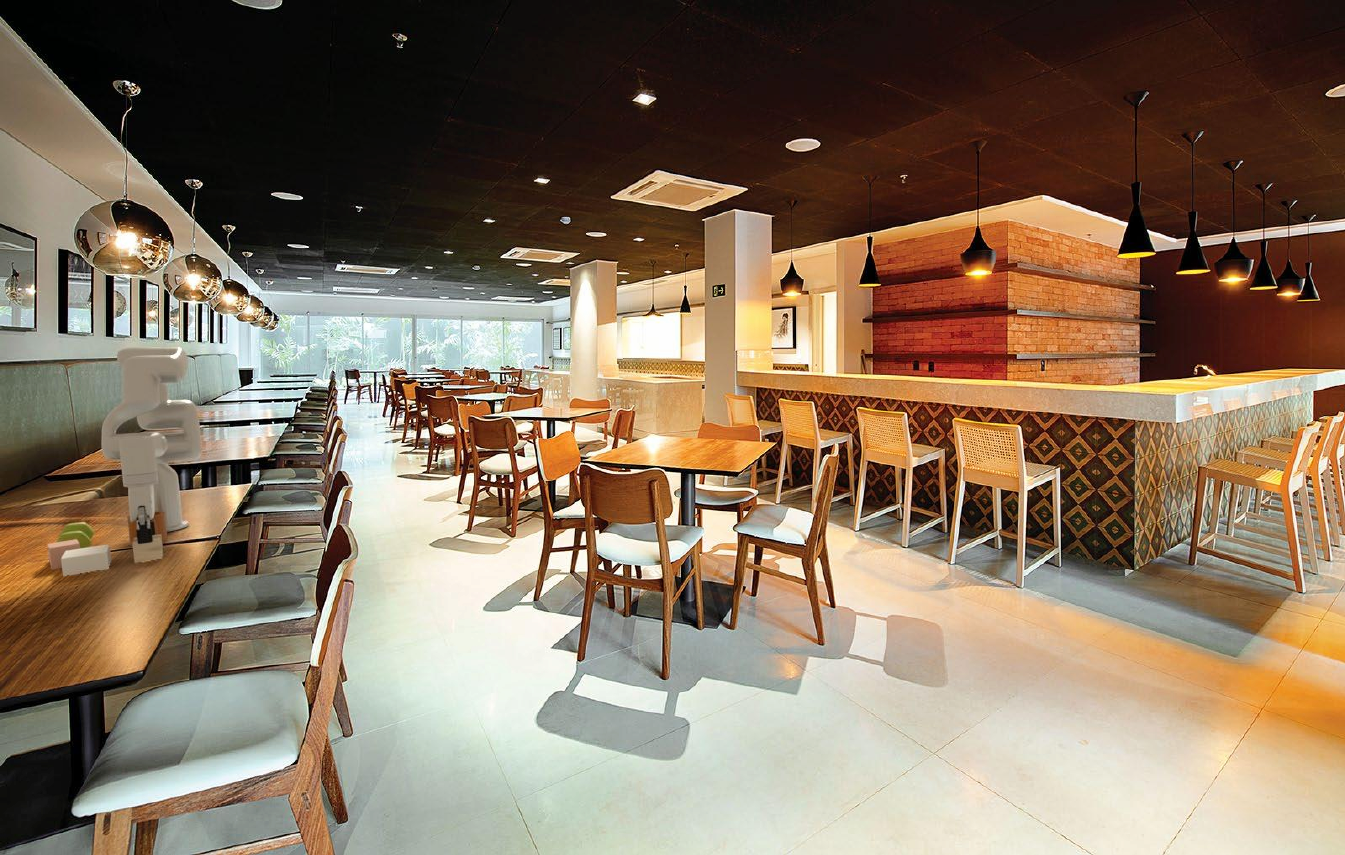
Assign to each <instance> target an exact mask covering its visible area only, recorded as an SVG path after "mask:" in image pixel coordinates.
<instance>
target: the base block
mask: <svg viewBox="0 0 1345 855" xmlns="http://www.w3.org/2000/svg"><path fill="white" fill-rule="evenodd" d="M61 563H62V568H61V569H62V576H63V577H67V575H69V576H75V575H80V573H82V574H86V573H85V572H88V573H91V572H90V571H94V570H100V571H104V570H110V567H109V566H111V564H110V563H112V555H111V546H110V543H109V544H102V545H97V546H96V545H95V546H89V547H87V548H80V549H74V550H67V551H65V553H64V555H63V556H62V558H61ZM94 572H95V571H94Z"/></svg>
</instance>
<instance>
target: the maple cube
mask: <svg viewBox="0 0 1345 855" xmlns="http://www.w3.org/2000/svg"><path fill="white" fill-rule="evenodd" d="M152 537H153V542H151V543H144V544H138V541H137V538H134V540H133V542H132V545H133V547H132V551H133V561H134V564H135V563H136V562H142V561H146V560H155V561H157V560H156V559H161V558H162V556H163V557H164V548H163V546H164V545H163V543H162V537H161V534H159V535H152ZM162 559H163V558H162ZM142 563H143V562H142ZM136 564H137V563H136Z"/></svg>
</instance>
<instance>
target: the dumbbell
mask: <svg viewBox="0 0 1345 855" xmlns="http://www.w3.org/2000/svg"><path fill="white" fill-rule="evenodd" d="M94 534H95V531H94V529H93V528H92V527H91V526H90V525H89V524H88V523H87V522H85V521H82V522H81V521H80V522H71V523H67V524H66V525H65V526H64V527H63V528H62V530H61V532H60V534H59V536H58V539H56V542H55V543H57V542H63V541H69V540H75V539H77V540H78V542H79V543H80V548H87V547H91V544H92V538H93V536H95V535H94Z"/></svg>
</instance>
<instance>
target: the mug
mask: <svg viewBox="0 0 1345 855" xmlns="http://www.w3.org/2000/svg"><path fill="white" fill-rule="evenodd" d="M126 520H127V526H128V528H127V529H128V536H129V543H130V545H129V546H130V547H131V548H133V545H132V542H133V540H134V538H137V532H136V530H137V519H136V521H134V522H131V521H130V515H129V516H127V519H126ZM153 521H154V527H155V535H159V534H161V537H162V544H164V543H165V541H166V542H168V532H167V531H166V522H165V513H164V512H161V511H156V512H155V514H154V517H153ZM151 522H152V521H151ZM163 542H164V543H163Z"/></svg>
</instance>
